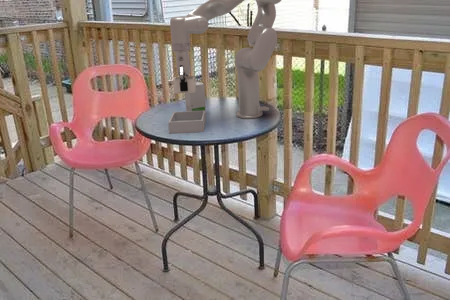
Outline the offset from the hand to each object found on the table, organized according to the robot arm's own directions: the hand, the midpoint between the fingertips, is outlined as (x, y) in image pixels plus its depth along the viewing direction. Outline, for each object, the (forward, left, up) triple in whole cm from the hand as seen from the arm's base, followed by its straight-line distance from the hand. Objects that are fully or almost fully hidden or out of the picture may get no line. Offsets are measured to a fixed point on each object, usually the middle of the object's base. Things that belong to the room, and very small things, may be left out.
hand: (185, 88), depth 187 cm
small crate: (0, 0, -1) cm, 1 cm away
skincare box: (-2, -19, -18) cm, 26 cm away
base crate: (0, 0, -17) cm, 17 cm away
